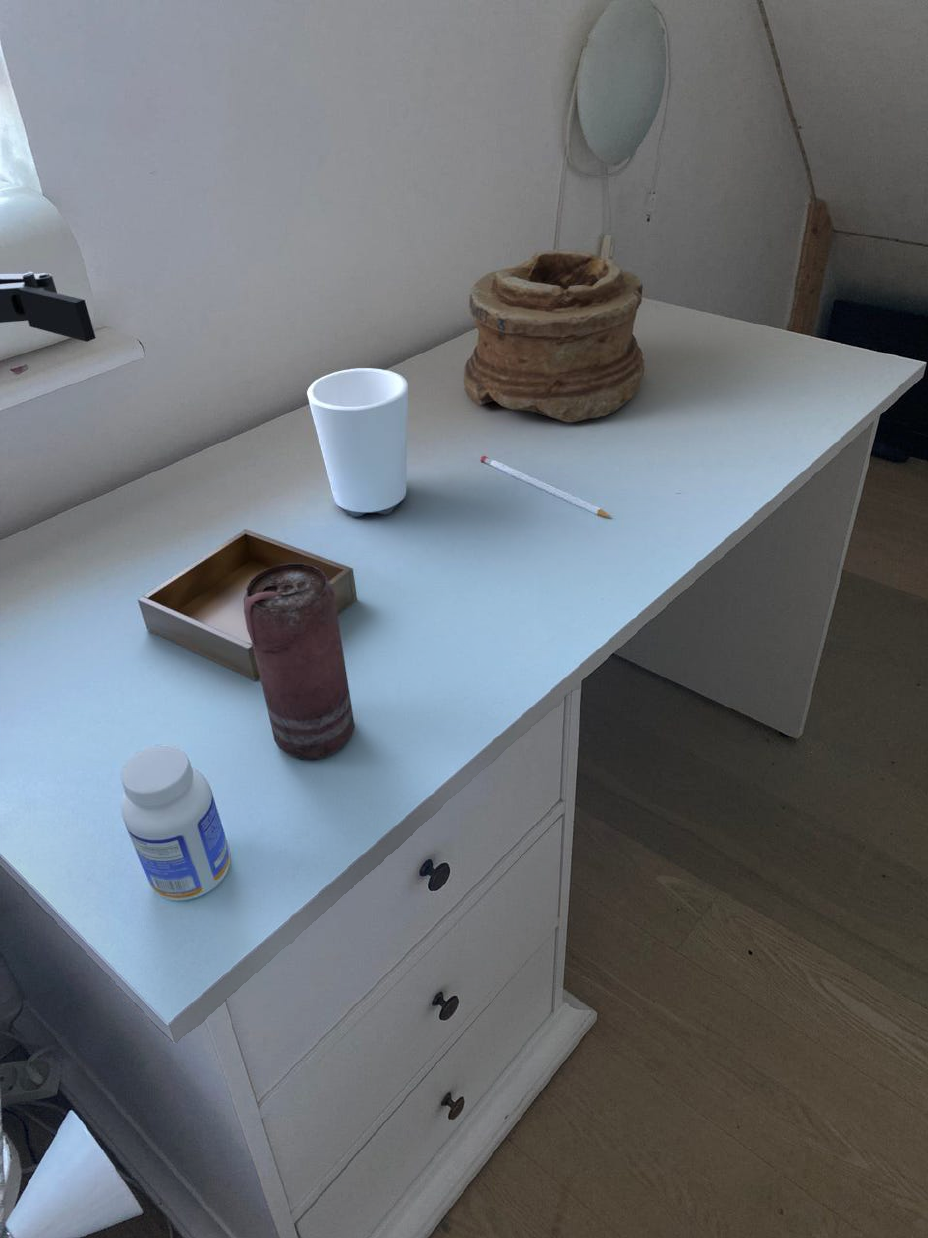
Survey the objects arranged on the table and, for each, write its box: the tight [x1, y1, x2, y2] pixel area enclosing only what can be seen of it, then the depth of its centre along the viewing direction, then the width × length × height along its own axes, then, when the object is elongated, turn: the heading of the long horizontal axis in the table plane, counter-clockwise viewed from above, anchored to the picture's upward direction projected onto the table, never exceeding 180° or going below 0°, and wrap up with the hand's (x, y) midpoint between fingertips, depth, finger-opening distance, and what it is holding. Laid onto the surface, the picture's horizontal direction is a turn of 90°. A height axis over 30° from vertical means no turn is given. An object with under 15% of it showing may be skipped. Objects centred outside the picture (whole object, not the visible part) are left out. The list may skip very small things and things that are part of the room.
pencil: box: [480, 455, 613, 519], centre depth 100 cm, size 1×19×1 cm, turn 43°
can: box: [244, 563, 356, 761], centre depth 68 cm, size 6×6×14 cm
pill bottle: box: [120, 744, 231, 902], centre depth 59 cm, size 5×5×10 cm
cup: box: [306, 367, 409, 518], centre depth 96 cm, size 10×10×13 cm
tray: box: [137, 528, 358, 682], centre depth 83 cm, size 13×13×3 cm
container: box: [463, 249, 645, 423], centre depth 116 cm, size 22×24×15 cm
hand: (0, 354), depth 61 cm, fingers open, 13 cm apart
